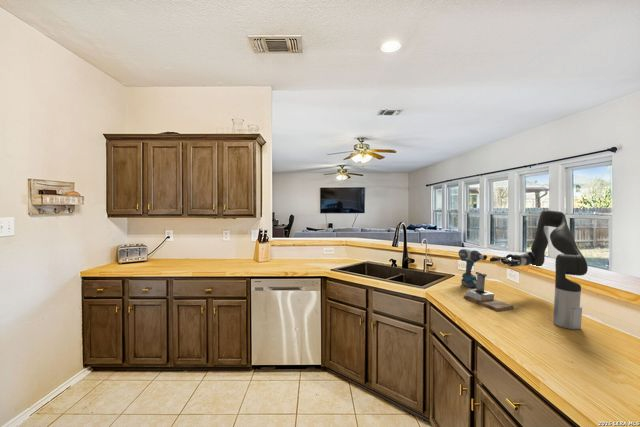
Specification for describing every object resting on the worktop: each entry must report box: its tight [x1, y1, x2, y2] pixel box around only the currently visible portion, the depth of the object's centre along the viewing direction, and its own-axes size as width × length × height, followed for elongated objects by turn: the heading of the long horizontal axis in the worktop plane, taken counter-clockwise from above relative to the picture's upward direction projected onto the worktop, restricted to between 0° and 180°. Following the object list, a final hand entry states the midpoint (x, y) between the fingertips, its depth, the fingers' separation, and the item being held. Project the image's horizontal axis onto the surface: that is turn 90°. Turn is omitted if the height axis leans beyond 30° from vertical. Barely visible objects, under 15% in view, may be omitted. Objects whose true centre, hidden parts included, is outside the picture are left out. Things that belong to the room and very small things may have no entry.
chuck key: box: [475, 271, 487, 294], centre depth 171 cm, size 7×4×14 cm, turn 21°
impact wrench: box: [458, 248, 488, 289], centre depth 199 cm, size 8×22×25 cm, turn 15°
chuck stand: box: [462, 288, 515, 312], centre depth 166 cm, size 22×12×5 cm, turn 21°
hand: (496, 261), depth 175 cm, fingers open, 8 cm apart
